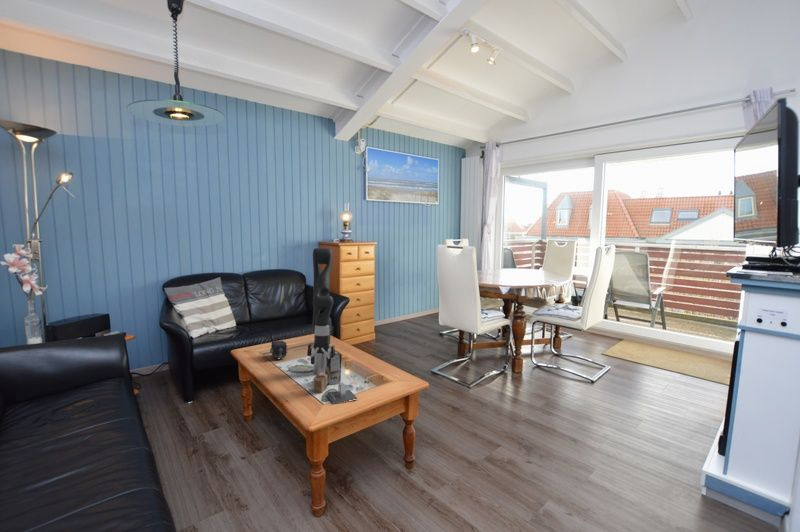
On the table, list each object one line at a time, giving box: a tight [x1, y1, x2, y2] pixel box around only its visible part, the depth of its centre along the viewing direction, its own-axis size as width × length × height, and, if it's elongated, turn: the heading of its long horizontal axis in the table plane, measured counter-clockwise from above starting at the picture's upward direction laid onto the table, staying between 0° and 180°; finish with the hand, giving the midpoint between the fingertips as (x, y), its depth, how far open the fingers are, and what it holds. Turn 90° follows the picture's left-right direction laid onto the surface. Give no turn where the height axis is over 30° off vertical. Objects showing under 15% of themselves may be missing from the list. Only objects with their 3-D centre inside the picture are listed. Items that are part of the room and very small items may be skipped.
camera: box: [269, 340, 288, 359], centre depth 244 cm, size 11×11×15 cm
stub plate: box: [326, 382, 358, 405], centre depth 181 cm, size 12×12×7 cm
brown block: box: [312, 373, 328, 394], centre depth 190 cm, size 7×5×8 cm
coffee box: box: [325, 350, 343, 386], centre depth 203 cm, size 9×6×16 cm
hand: (320, 364), depth 189 cm, fingers open, 8 cm apart
